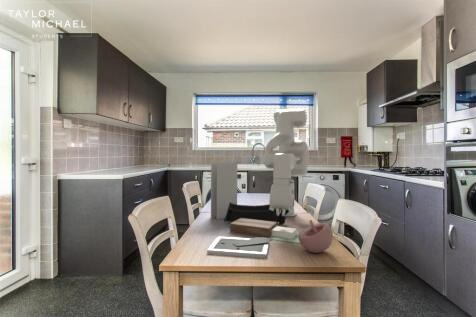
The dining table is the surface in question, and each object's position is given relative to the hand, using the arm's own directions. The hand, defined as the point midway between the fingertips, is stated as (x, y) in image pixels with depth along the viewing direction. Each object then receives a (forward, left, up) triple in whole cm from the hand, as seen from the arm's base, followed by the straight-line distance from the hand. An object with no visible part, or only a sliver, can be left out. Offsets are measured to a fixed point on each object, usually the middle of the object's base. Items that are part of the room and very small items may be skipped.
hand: (281, 224), depth 121 cm
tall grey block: (-20, -38, -5) cm, 43 cm away
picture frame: (+22, -10, -6) cm, 25 cm away
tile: (0, +1, -4) cm, 5 cm away
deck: (0, -13, -5) cm, 14 cm away
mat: (0, +4, -5) cm, 6 cm away
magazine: (-14, -17, -5) cm, 23 cm away
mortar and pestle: (+14, +16, -5) cm, 22 cm away
